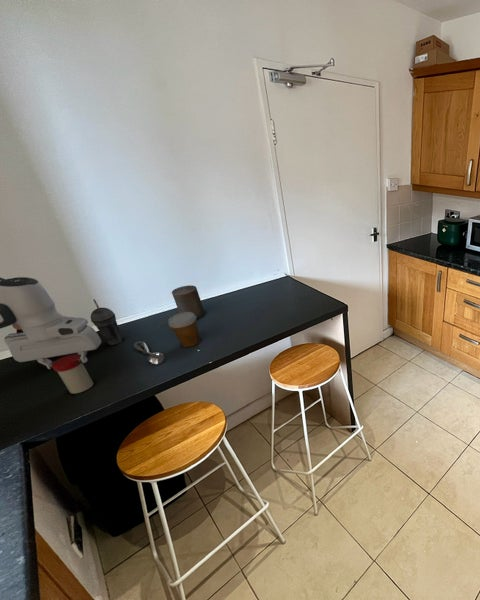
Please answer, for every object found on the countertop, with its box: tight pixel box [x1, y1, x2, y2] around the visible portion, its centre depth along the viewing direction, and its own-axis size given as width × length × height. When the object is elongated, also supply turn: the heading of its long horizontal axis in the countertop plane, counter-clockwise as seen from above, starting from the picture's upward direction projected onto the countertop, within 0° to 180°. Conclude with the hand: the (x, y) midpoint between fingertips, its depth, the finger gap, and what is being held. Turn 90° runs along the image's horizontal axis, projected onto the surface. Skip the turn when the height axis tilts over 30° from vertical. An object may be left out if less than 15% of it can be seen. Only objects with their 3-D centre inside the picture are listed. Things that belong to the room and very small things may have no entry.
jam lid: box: [52, 353, 81, 373], centre depth 100 cm, size 7×7×2 cm
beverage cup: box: [90, 299, 123, 346], centre depth 124 cm, size 7×7×20 cm
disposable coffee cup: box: [167, 312, 201, 348], centre depth 125 cm, size 10×10×12 cm
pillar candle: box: [171, 284, 206, 320], centre depth 144 cm, size 10×10×15 cm
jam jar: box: [56, 363, 95, 395], centre depth 103 cm, size 6×6×11 cm
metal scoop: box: [133, 340, 165, 365], centre depth 120 cm, size 20×4×5 cm
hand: (69, 364), depth 101 cm, fingers closed on jam lid, 6 cm apart
